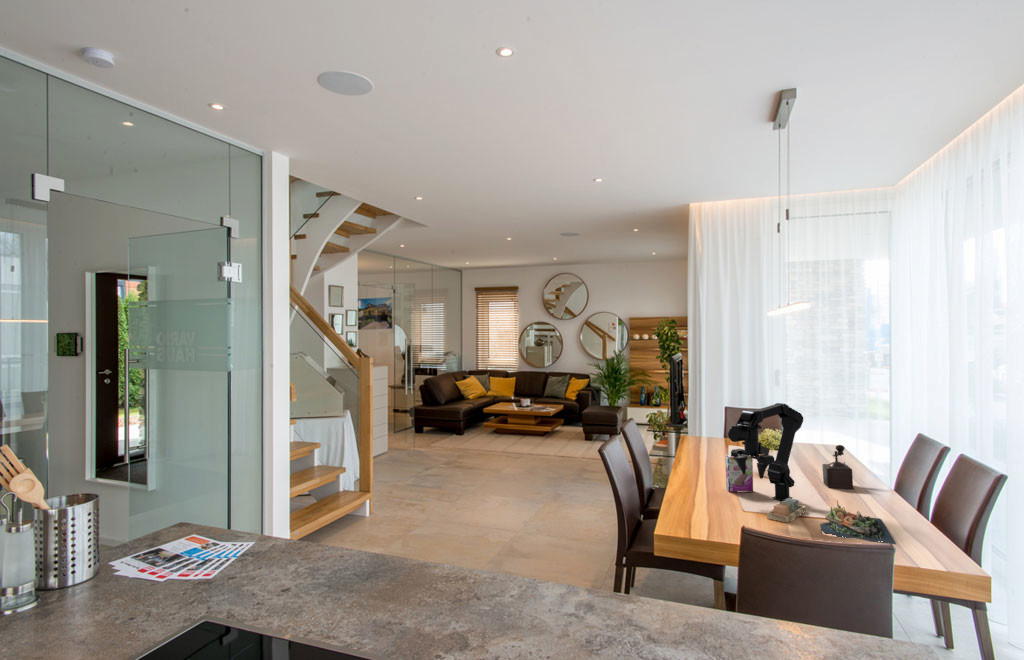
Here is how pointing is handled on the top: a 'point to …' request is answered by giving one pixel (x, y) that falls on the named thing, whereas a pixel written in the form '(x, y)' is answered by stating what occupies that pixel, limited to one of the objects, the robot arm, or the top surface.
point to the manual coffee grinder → (837, 472)
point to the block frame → (793, 511)
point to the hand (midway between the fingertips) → (752, 476)
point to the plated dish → (856, 526)
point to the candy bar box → (738, 475)
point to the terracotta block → (781, 509)
